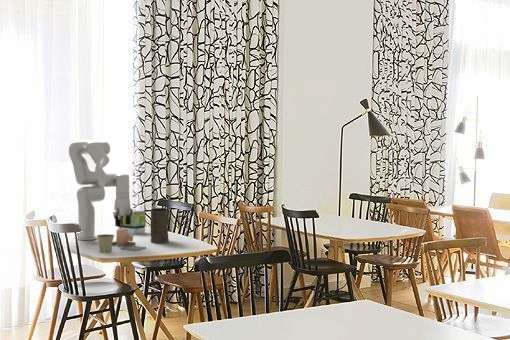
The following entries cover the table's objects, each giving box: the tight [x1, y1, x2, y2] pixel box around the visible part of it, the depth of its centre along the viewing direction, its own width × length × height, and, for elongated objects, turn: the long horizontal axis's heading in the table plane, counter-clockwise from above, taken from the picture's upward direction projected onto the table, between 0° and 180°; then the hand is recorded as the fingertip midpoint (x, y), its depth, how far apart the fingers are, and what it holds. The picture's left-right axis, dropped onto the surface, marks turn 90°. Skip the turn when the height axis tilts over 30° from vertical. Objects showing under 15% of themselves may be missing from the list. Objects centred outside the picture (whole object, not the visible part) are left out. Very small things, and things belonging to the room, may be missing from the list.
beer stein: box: [150, 207, 170, 244], centre depth 380 cm, size 15×11×20 cm
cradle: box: [112, 241, 136, 248], centre depth 366 cm, size 11×10×2 cm
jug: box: [115, 228, 134, 247], centre depth 365 cm, size 10×6×9 cm, turn 66°
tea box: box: [117, 209, 146, 235], centre depth 413 cm, size 15×10×15 cm, turn 58°
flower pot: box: [96, 233, 115, 253], centre depth 346 cm, size 9×9×9 cm
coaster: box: [120, 245, 147, 252], centre depth 355 cm, size 10×10×1 cm
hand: (123, 225), depth 365 cm, fingers open, 9 cm apart
